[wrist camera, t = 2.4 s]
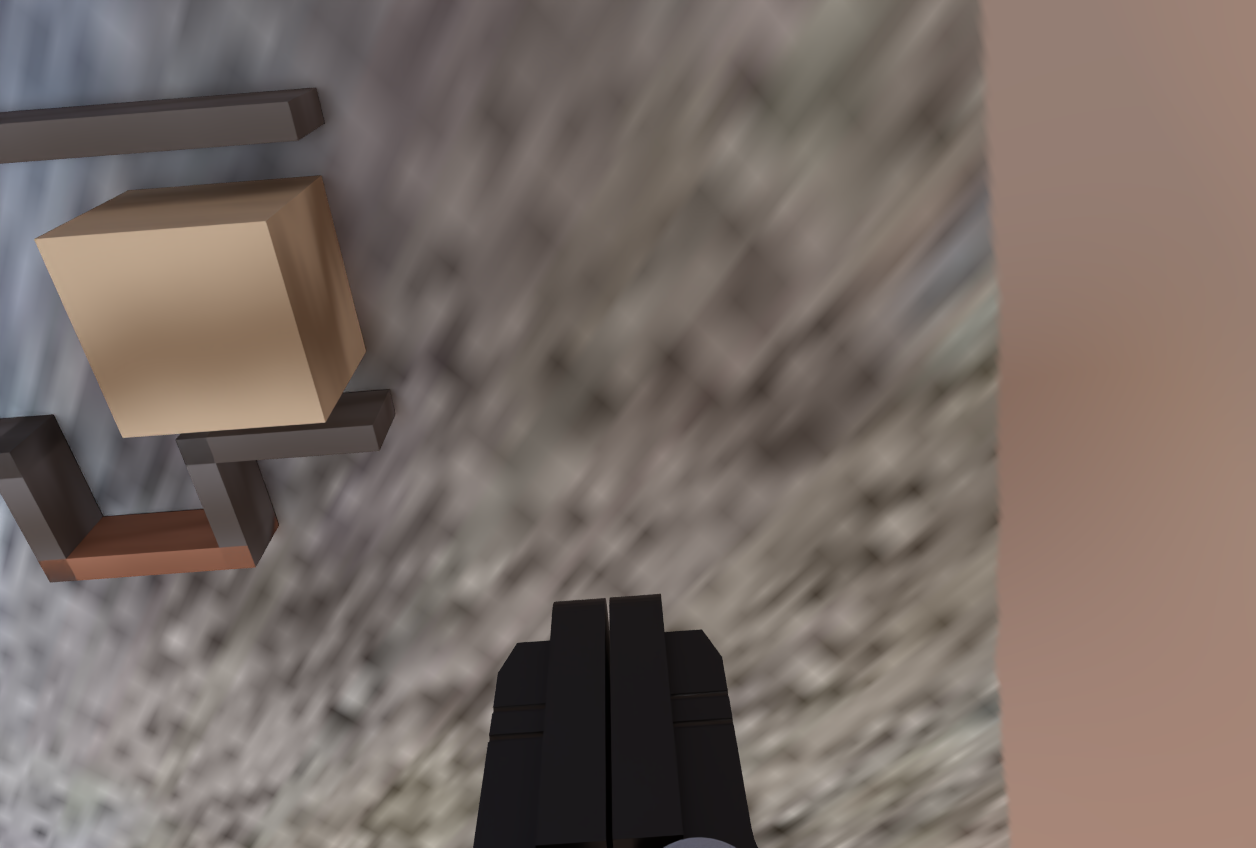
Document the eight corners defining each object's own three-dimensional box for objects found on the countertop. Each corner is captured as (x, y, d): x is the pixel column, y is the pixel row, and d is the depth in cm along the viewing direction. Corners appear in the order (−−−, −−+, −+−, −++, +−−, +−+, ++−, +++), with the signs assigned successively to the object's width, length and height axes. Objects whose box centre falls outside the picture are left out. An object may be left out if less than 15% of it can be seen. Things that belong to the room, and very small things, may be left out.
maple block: (130, 189, 25) (33, 239, 21) (322, 174, 25) (265, 221, 21) (195, 363, 28) (122, 437, 24) (367, 350, 28) (325, 422, 24)
